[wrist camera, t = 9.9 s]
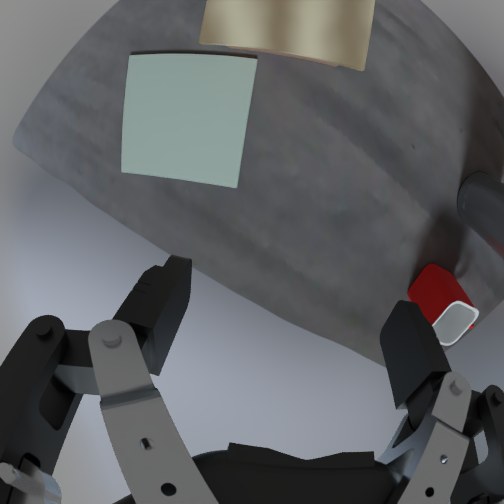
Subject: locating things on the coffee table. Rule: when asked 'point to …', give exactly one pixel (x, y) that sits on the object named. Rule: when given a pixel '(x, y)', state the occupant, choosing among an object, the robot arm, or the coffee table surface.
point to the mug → (443, 303)
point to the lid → (293, 27)
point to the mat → (187, 116)
